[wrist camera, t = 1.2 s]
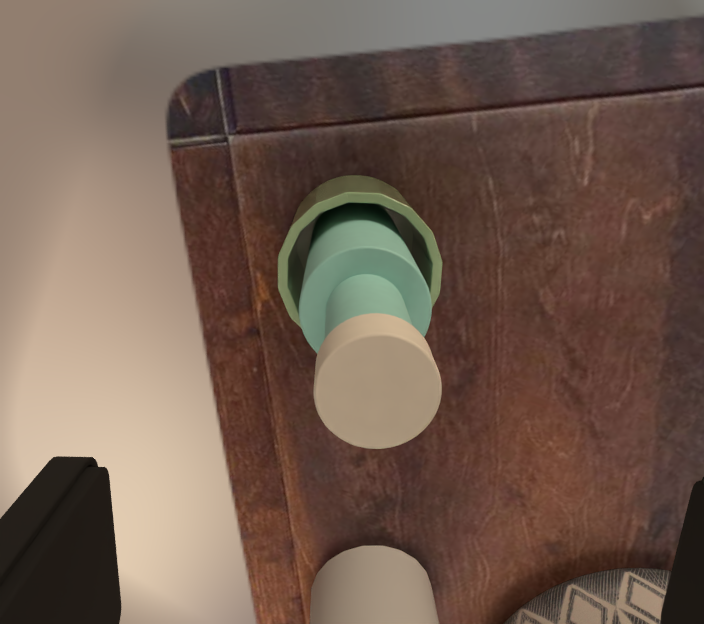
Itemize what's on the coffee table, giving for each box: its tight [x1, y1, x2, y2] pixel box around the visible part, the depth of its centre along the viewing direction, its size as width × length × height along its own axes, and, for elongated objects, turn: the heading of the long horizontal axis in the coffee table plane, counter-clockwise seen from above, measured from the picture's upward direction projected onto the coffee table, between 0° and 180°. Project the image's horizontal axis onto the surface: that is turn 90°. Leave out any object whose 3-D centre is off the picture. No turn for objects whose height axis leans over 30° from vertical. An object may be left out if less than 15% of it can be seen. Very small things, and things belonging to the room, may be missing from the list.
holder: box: [278, 175, 442, 327], centre depth 27 cm, size 7×7×7 cm
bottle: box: [299, 202, 442, 449], centre depth 22 cm, size 4×4×17 cm
